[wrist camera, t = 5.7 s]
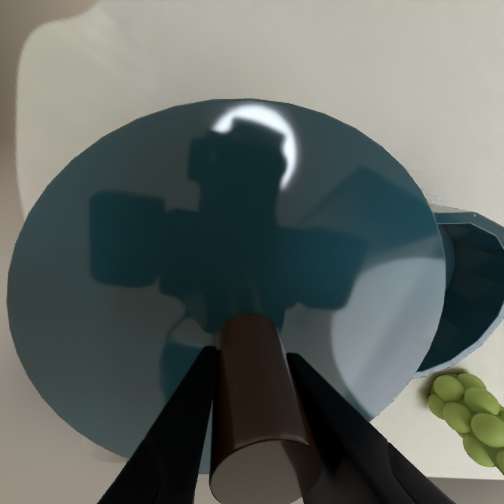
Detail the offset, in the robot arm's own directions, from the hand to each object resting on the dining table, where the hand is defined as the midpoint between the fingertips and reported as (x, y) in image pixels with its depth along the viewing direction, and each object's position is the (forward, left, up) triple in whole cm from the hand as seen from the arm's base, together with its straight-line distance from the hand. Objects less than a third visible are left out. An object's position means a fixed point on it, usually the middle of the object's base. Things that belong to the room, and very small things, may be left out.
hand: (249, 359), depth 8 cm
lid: (0, 0, -1) cm, 1 cm away
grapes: (+5, -32, -13) cm, 34 cm away
